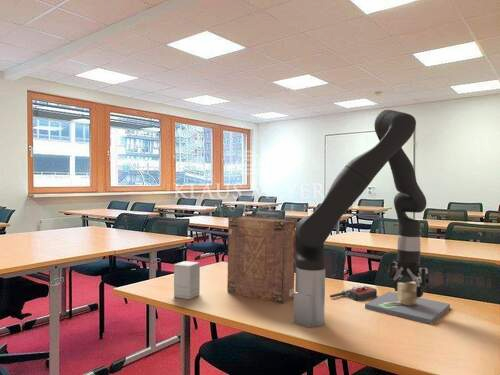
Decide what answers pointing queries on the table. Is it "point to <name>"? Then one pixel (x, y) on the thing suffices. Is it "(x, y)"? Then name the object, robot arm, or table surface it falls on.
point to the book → (261, 258)
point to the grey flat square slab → (409, 308)
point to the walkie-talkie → (358, 293)
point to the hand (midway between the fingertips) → (407, 293)
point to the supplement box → (186, 279)
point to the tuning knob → (406, 294)
